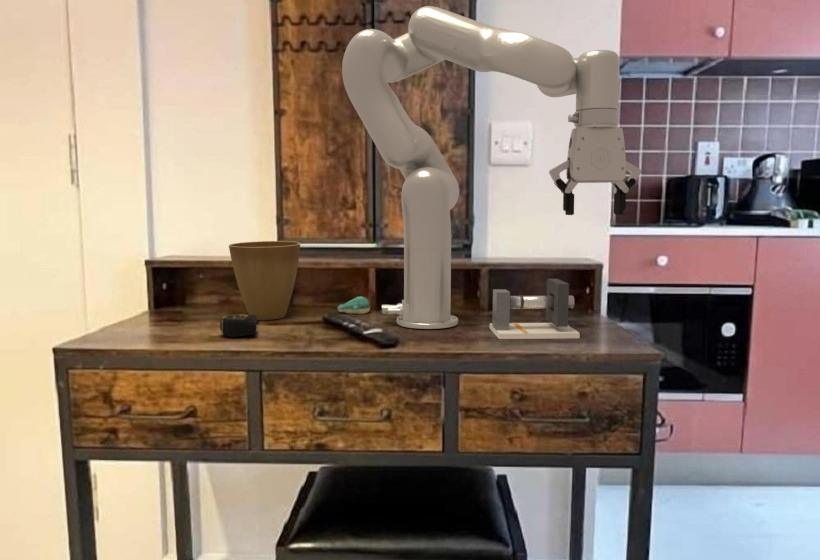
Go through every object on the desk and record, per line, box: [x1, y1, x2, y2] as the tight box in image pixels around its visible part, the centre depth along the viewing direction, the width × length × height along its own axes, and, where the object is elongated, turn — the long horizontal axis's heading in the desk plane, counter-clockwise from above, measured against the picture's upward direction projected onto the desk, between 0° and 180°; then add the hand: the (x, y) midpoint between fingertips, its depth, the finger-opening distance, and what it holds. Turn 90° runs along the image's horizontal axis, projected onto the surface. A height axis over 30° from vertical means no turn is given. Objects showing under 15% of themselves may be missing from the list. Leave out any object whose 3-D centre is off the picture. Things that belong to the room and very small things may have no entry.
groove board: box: [489, 322, 581, 340], centre depth 125 cm, size 15×10×1 cm, turn 93°
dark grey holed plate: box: [545, 278, 570, 327], centre depth 125 cm, size 2×8×8 cm, turn 3°
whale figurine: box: [336, 295, 371, 315], centre depth 147 cm, size 6×7×4 cm
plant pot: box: [228, 240, 301, 321], centre depth 140 cm, size 15×15×16 cm
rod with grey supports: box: [491, 288, 575, 330], centre depth 125 cm, size 15×4×7 cm, turn 93°
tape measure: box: [219, 313, 260, 338], centre depth 123 cm, size 7×7×4 cm
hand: (594, 214), depth 123 cm, fingers open, 9 cm apart
